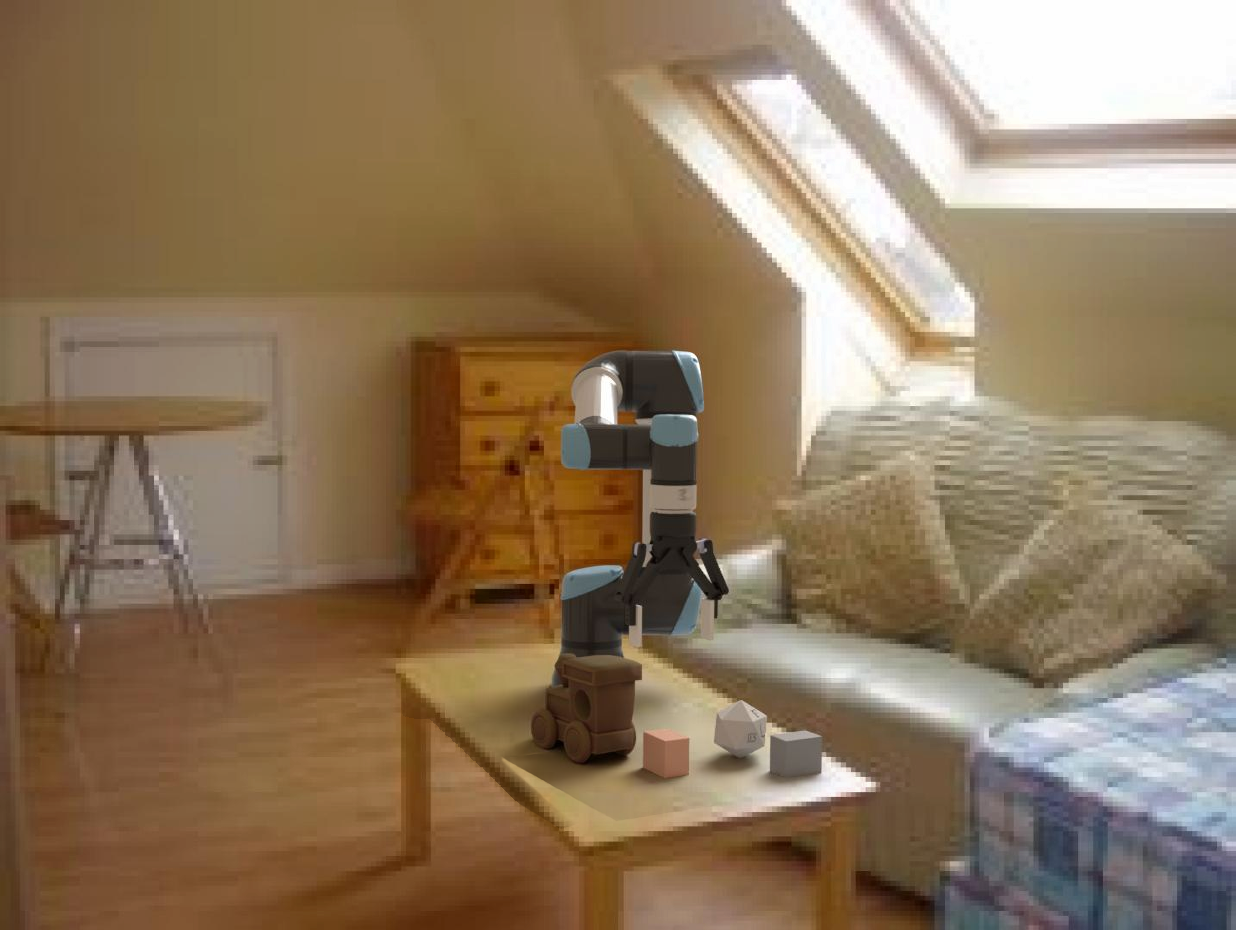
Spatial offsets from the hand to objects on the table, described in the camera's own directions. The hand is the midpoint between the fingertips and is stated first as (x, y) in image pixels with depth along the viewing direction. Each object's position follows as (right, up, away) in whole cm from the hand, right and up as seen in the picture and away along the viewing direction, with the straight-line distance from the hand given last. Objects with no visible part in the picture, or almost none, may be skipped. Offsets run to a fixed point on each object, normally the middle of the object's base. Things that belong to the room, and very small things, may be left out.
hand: (671, 642), depth 242 cm
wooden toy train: (-14, -20, +12) cm, 28 cm away
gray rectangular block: (+20, -21, +1) cm, 29 cm away
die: (+12, -21, +9) cm, 26 cm away
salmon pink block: (-1, -21, +1) cm, 21 cm away
